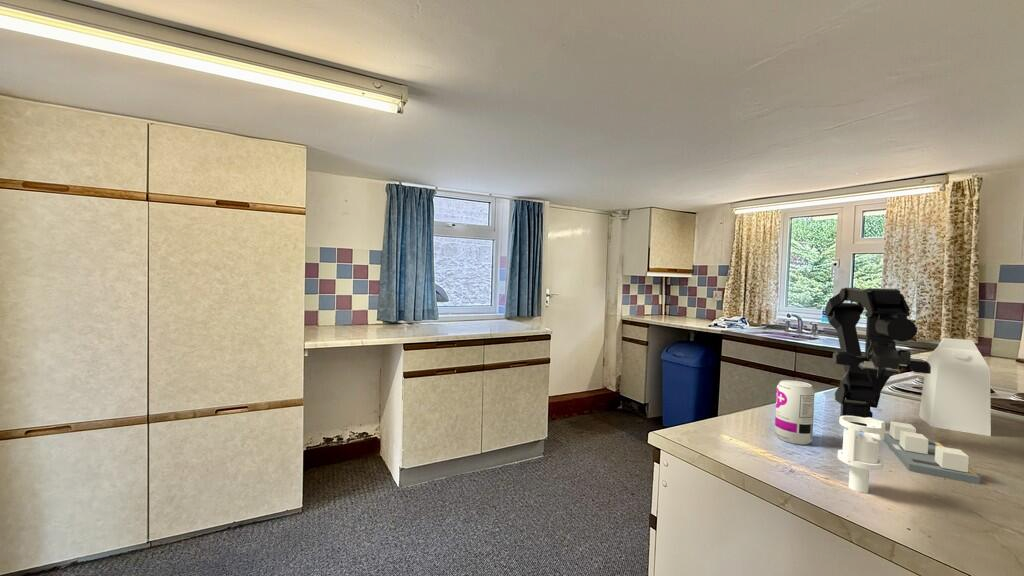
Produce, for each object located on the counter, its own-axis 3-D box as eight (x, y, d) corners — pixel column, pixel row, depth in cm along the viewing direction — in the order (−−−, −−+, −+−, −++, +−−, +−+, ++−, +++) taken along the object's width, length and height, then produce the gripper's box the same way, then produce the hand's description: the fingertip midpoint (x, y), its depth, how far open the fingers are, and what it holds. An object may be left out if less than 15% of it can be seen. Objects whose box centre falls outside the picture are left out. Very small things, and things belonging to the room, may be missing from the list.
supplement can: (778, 442, 106) (781, 385, 105) (771, 431, 113) (774, 378, 113) (816, 448, 103) (819, 389, 102) (806, 436, 110) (809, 381, 110)
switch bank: (909, 470, 91) (909, 463, 91) (880, 437, 111) (881, 432, 110) (979, 484, 86) (979, 476, 86) (937, 447, 105) (937, 441, 105)
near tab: (941, 467, 90) (942, 452, 89) (934, 460, 93) (935, 445, 93) (967, 472, 88) (968, 456, 87) (959, 465, 91) (960, 449, 91)
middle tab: (904, 450, 98) (905, 436, 98) (899, 444, 102) (900, 430, 102) (927, 454, 96) (928, 439, 96) (921, 448, 100) (922, 434, 100)
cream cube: (894, 439, 105) (895, 425, 105) (889, 434, 109) (890, 421, 109) (915, 442, 103) (916, 429, 103) (909, 437, 107) (910, 424, 107)
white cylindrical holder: (869, 501, 78) (873, 424, 78) (828, 483, 85) (832, 412, 84) (889, 494, 81) (893, 419, 80) (848, 477, 87) (851, 408, 87)
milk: (973, 424, 124) (978, 339, 123) (990, 436, 114) (996, 343, 113) (919, 415, 130) (923, 335, 129) (931, 426, 120) (936, 339, 120)
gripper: (841, 336, 106) (838, 395, 106) (941, 343, 96) (937, 408, 97) (833, 331, 115) (830, 385, 116) (923, 337, 106) (920, 397, 107)
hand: (876, 393), depth 109 cm, fingers closed
